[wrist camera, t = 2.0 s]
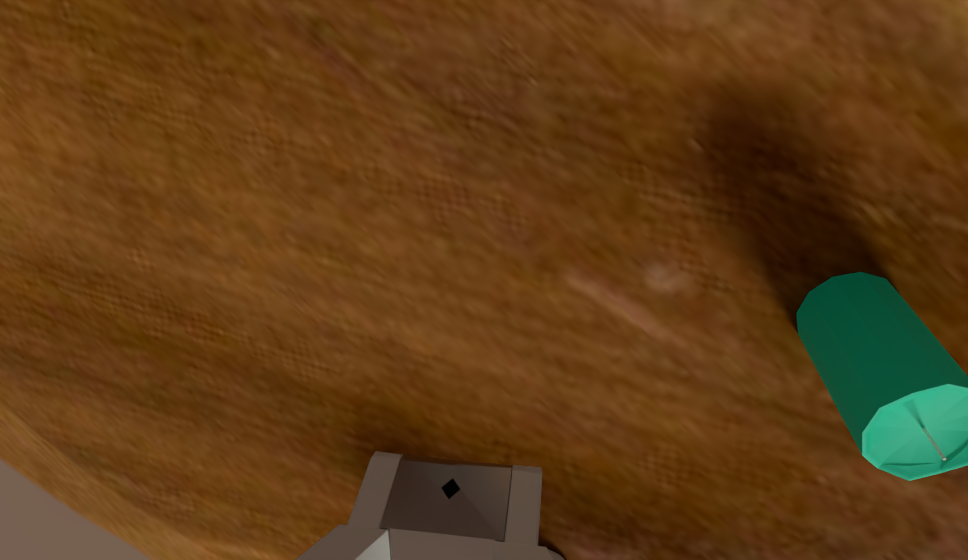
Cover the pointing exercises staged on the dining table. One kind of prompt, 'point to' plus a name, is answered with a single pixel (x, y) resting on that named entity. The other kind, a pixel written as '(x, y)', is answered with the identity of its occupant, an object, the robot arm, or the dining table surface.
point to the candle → (887, 376)
